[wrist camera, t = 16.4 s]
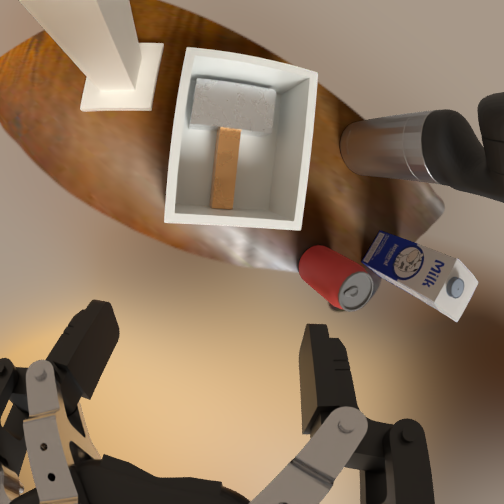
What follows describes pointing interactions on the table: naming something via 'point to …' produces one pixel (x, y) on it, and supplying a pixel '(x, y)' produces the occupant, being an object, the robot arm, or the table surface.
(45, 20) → the stand
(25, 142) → the table surface
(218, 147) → the metal head mallet
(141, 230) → the table surface
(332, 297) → the beer can
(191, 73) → the box
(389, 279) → the milk carton
